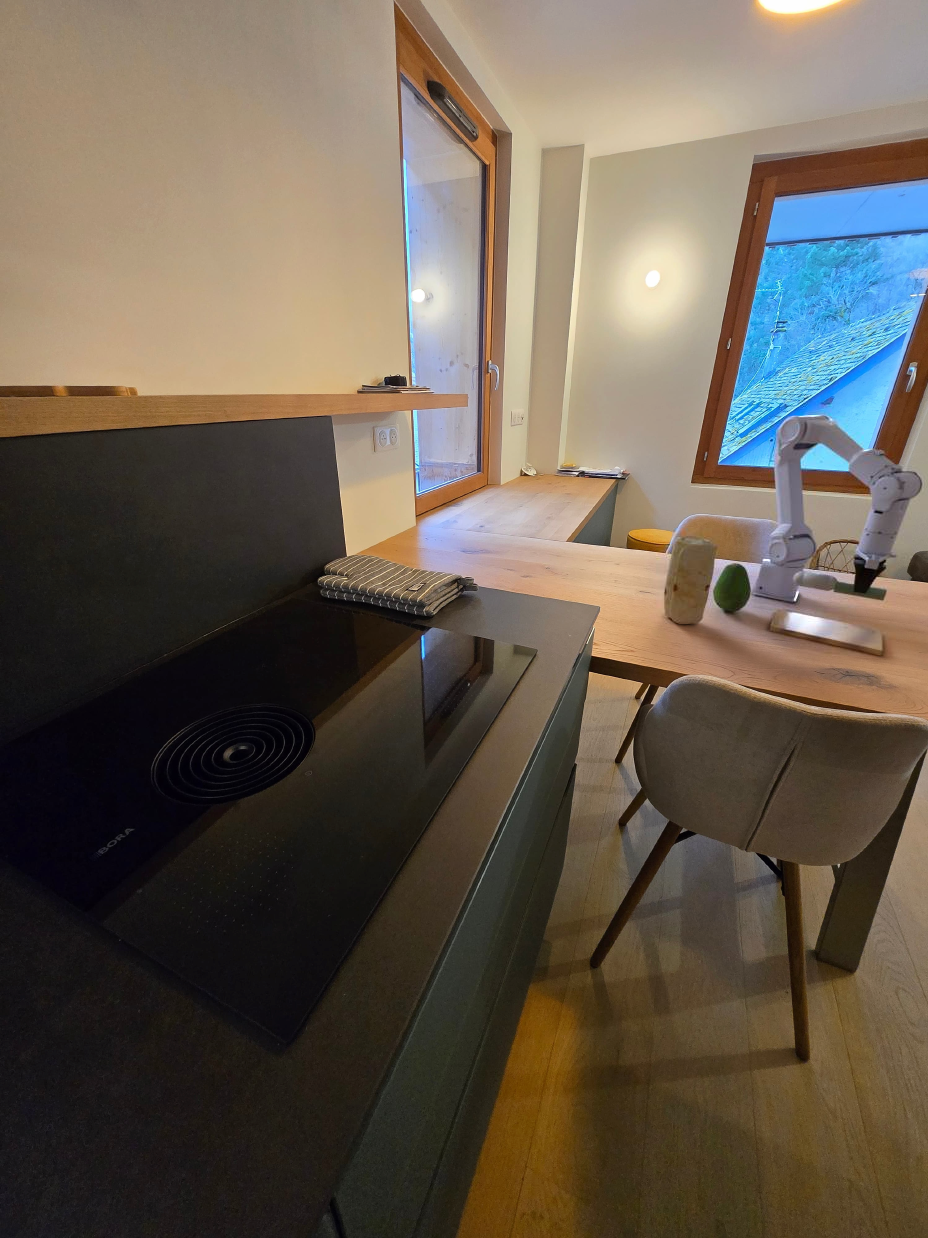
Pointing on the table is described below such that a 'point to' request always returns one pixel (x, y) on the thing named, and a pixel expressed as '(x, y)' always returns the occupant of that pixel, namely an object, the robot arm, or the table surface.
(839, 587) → the green-handled cylinder
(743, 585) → the avocado
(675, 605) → the food model
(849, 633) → the board
